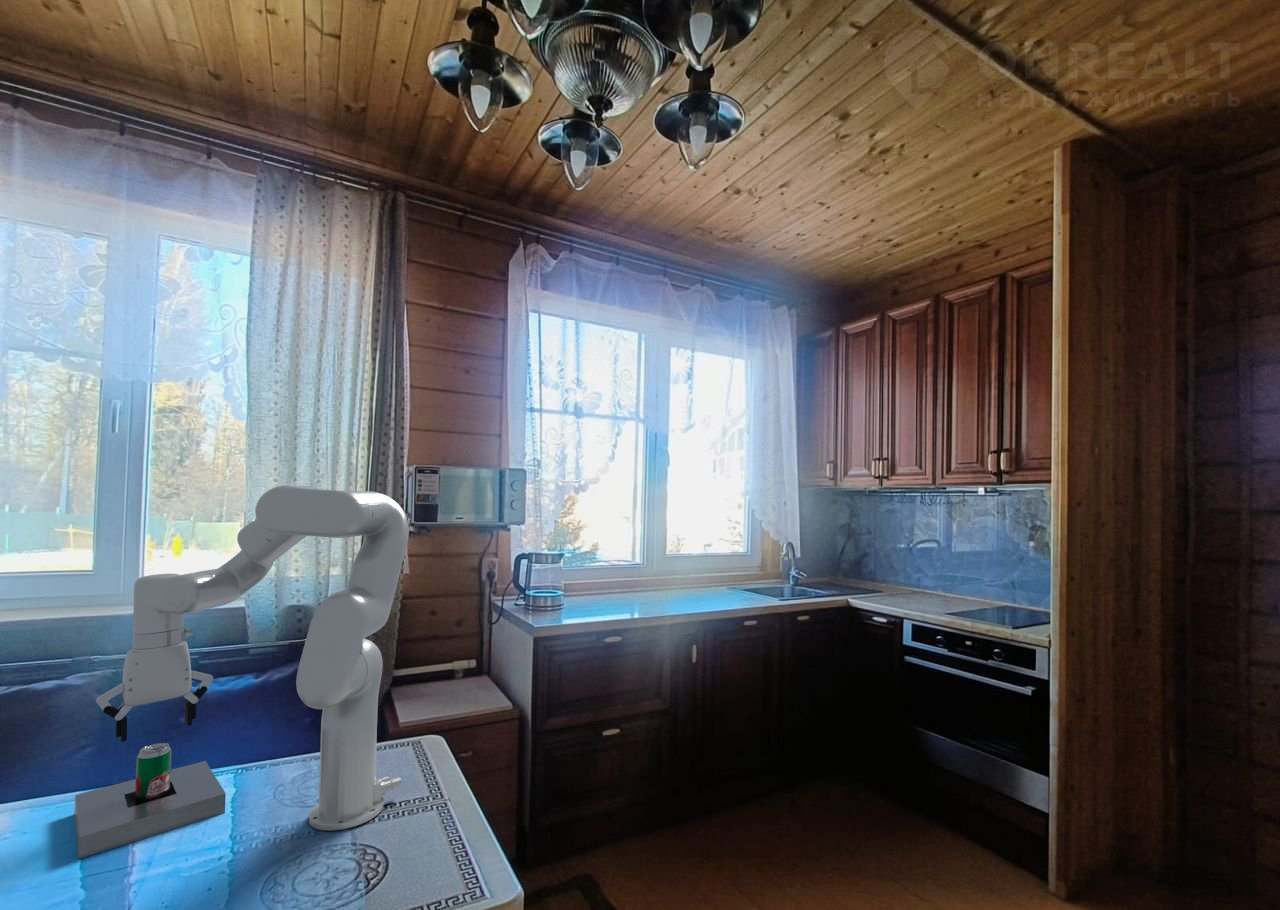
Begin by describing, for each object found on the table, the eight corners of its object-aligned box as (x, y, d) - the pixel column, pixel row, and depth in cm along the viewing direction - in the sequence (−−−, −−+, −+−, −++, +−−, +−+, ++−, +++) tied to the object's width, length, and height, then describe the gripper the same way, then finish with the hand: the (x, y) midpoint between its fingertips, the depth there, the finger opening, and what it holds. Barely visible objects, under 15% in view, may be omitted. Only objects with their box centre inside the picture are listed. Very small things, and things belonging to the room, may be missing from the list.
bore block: (204, 777, 125) (205, 760, 125) (224, 812, 111) (225, 793, 111) (74, 814, 111) (75, 795, 111) (78, 859, 97) (79, 837, 97)
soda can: (148, 822, 108) (151, 754, 109) (126, 819, 109) (130, 752, 110) (175, 807, 113) (178, 743, 114) (154, 805, 114) (157, 741, 115)
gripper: (209, 628, 122) (208, 714, 121) (96, 646, 110) (93, 741, 109) (217, 633, 117) (216, 722, 116) (98, 652, 105) (96, 752, 103)
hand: (156, 731), depth 112 cm, fingers open, 9 cm apart
